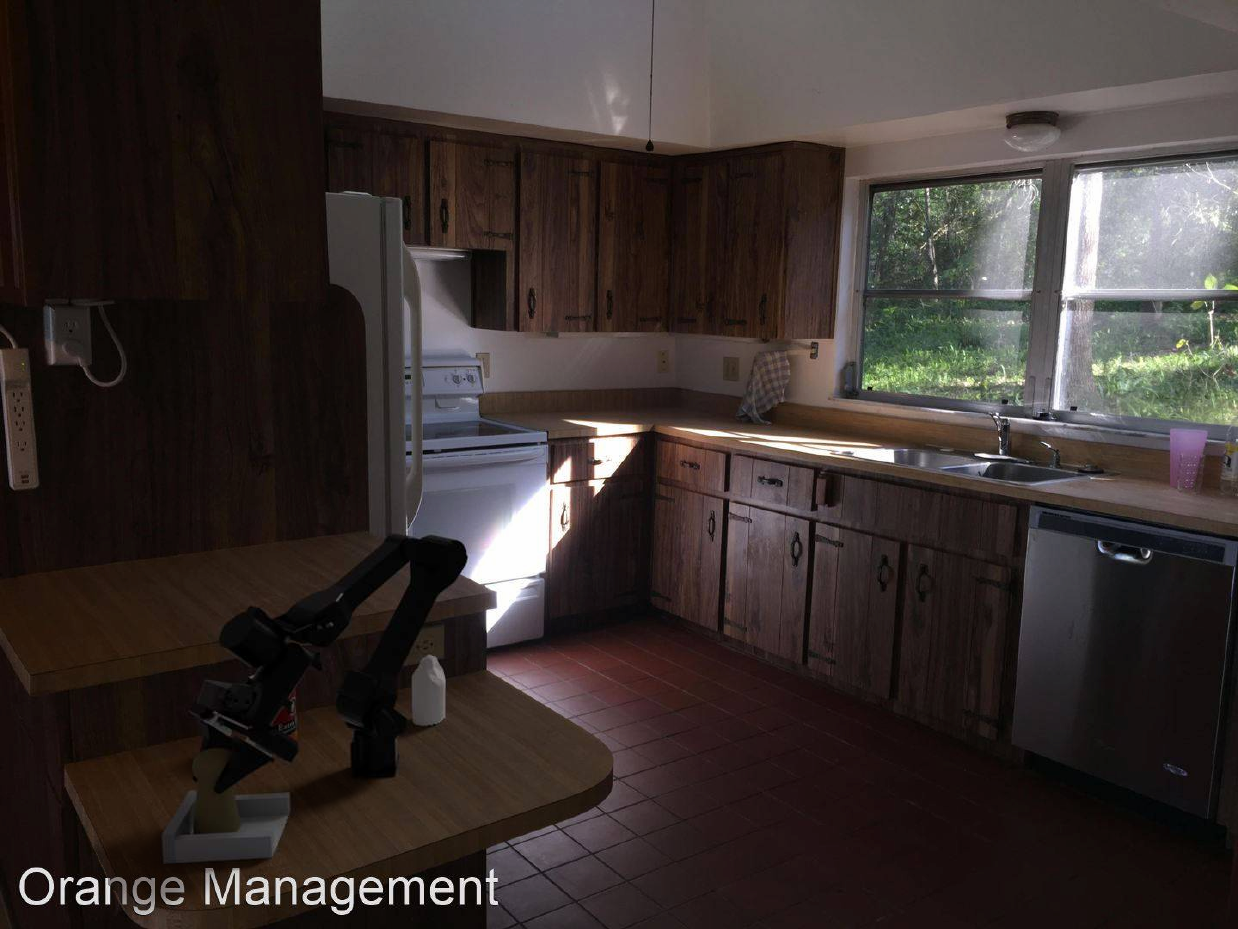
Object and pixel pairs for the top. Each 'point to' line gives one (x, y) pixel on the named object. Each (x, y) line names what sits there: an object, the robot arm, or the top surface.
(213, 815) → the olive rounded tall piece
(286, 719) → the canned food
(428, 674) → the white milk jug
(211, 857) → the shallow grey tray
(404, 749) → the top surface
